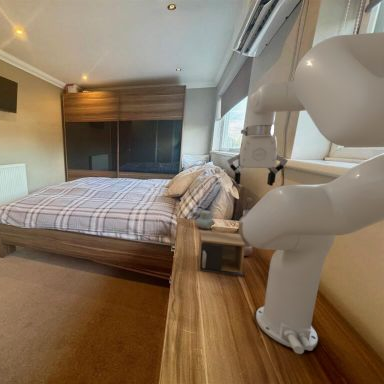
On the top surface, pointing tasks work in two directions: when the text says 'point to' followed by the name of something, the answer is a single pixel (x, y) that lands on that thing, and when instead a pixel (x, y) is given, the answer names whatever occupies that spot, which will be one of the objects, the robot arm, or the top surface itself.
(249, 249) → the plastic bottle
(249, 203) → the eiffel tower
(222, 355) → the top surface
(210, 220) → the air freshener
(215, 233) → the cabinet
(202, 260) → the sliding door
